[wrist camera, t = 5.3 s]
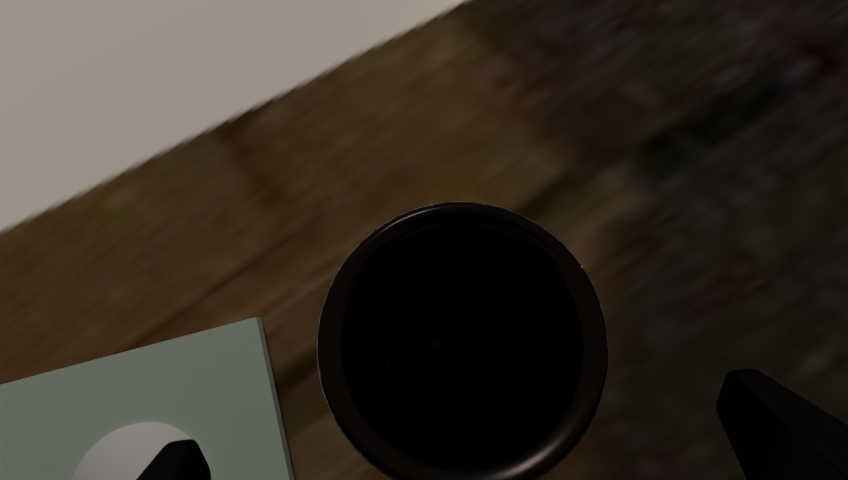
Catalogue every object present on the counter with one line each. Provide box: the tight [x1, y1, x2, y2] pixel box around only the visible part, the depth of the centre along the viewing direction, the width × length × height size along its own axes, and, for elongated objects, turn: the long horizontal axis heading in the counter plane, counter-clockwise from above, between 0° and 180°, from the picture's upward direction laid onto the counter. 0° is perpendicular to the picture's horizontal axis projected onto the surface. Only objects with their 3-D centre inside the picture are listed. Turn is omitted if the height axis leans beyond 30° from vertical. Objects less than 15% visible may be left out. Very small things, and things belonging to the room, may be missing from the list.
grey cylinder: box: [317, 201, 608, 480], centre depth 13 cm, size 4×4×10 cm
